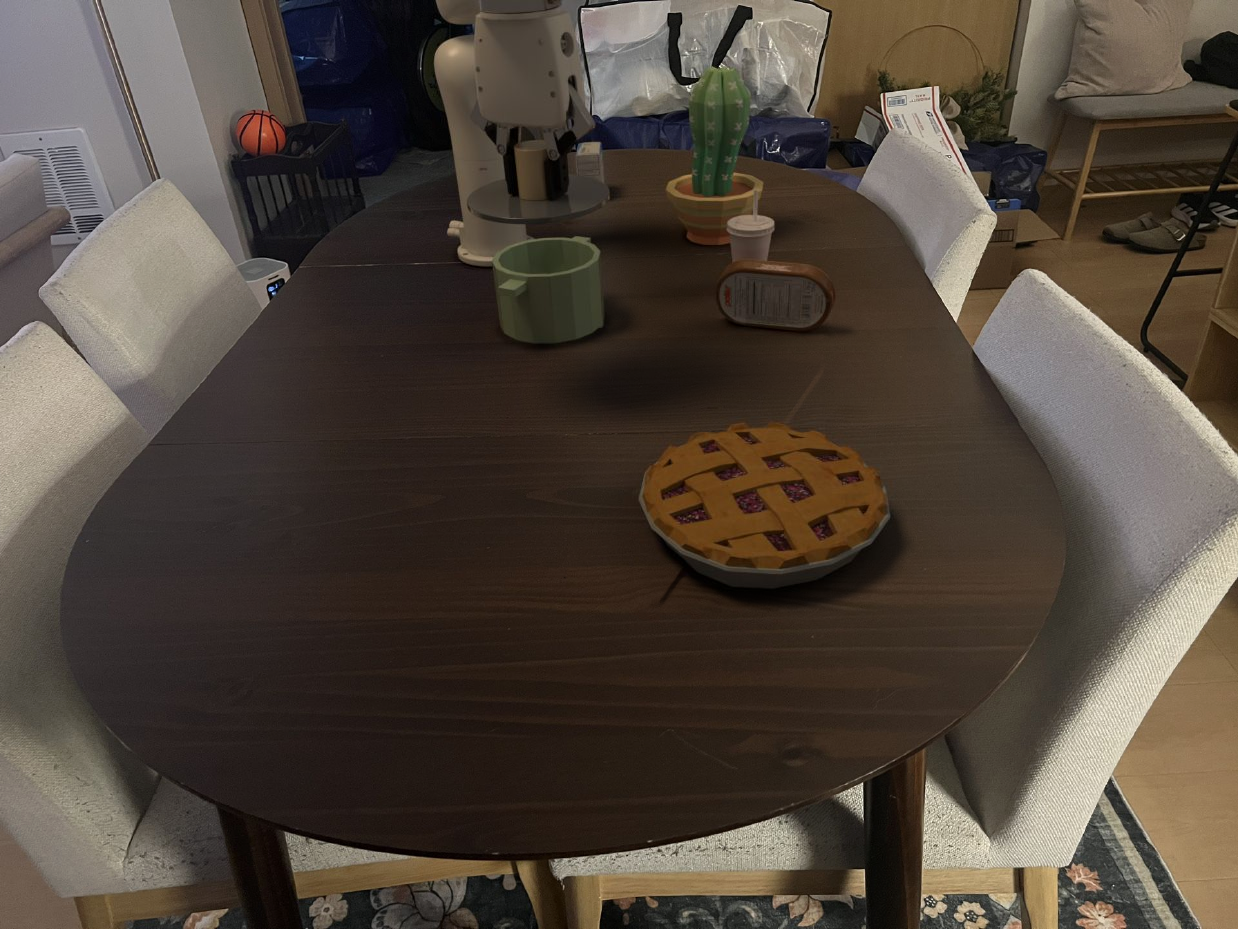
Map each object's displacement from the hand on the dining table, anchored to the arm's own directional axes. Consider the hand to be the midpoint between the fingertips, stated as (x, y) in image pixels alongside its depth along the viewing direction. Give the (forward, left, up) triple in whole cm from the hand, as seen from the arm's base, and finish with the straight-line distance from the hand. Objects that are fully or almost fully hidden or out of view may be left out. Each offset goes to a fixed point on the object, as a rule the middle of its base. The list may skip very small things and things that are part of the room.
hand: (538, 191), depth 95 cm
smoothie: (+11, +35, -23) cm, 43 cm away
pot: (-9, +15, -23) cm, 29 cm away
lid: (0, 0, -1) cm, 1 cm away
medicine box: (-31, +66, -23) cm, 76 cm away
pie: (+31, -15, -23) cm, 41 cm away
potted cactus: (-2, +54, -23) cm, 58 cm away
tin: (+18, +25, -23) cm, 38 cm away
